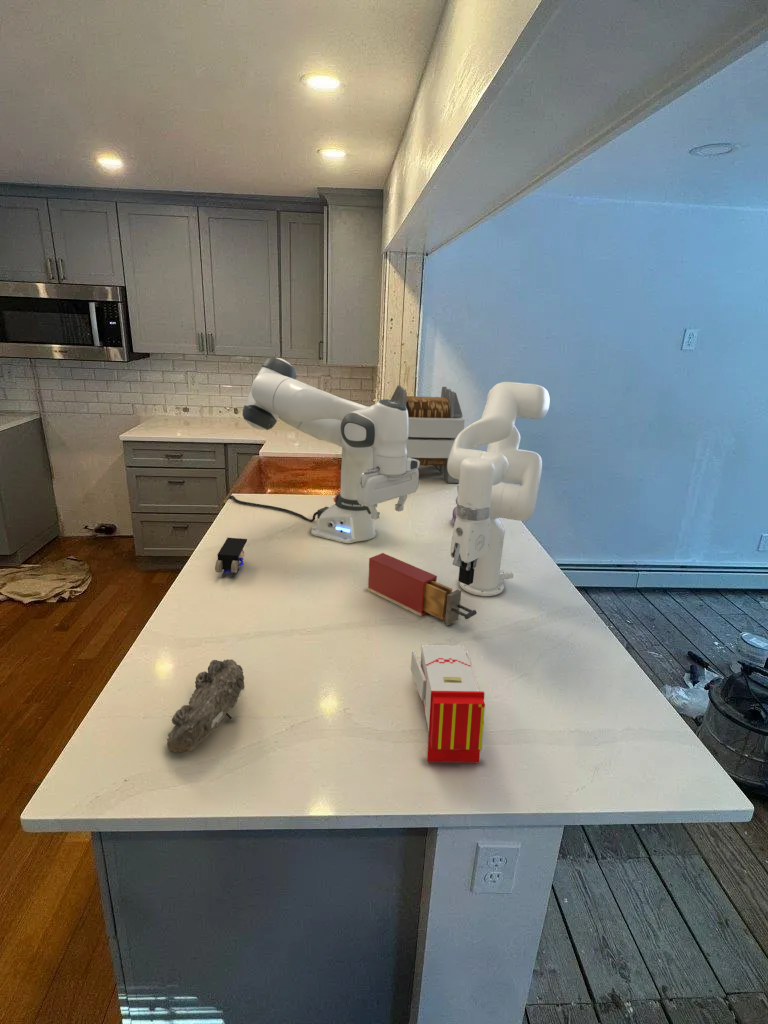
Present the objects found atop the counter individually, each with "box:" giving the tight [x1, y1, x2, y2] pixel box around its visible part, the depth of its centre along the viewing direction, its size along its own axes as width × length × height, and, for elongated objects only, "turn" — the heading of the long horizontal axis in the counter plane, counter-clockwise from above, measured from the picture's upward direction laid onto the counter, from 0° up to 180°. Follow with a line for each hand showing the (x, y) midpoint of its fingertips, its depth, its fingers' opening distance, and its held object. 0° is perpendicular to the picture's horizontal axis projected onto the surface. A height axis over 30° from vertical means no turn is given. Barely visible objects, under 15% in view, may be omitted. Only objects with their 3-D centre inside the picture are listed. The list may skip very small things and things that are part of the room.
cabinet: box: [367, 552, 438, 617], centre depth 153 cm, size 19×6×10 cm, turn 47°
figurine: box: [451, 484, 459, 526], centre depth 209 cm, size 9×10×15 cm
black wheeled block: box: [214, 537, 248, 578], centre depth 166 cm, size 7×8×15 cm
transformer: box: [390, 384, 465, 484], centre depth 268 cm, size 34×33×41 cm
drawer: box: [423, 580, 477, 626], centre depth 146 cm, size 24×4×8 cm, turn 47°
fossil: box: [166, 658, 245, 754], centre depth 106 cm, size 22×10×15 cm
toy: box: [410, 644, 486, 764], centre depth 111 cm, size 12×13×30 cm
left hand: (387, 514), depth 151 cm, fingers open, 8 cm apart
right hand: (465, 582), depth 137 cm, fingers closed
